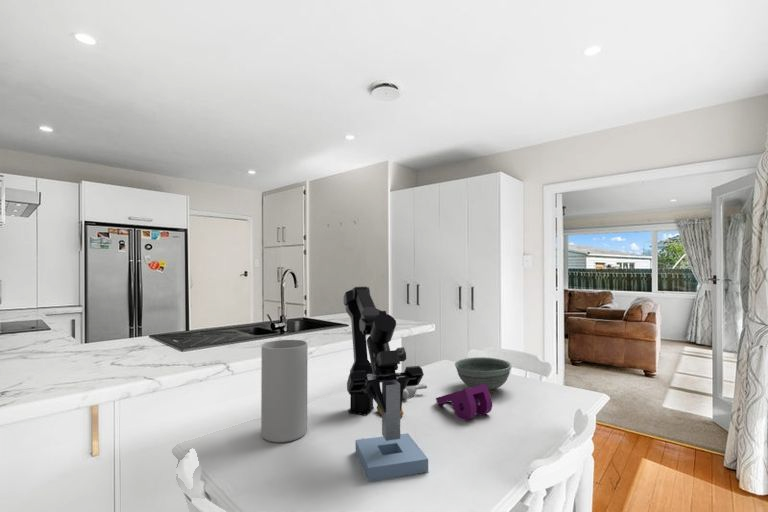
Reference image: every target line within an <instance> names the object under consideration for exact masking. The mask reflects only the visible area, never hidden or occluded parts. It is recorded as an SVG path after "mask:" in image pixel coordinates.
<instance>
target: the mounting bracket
mask: <svg viewBox="0 0 768 512" xmlns="http://www.w3.org/2000/svg"><path fill="white" fill-rule="evenodd" d="M491 396H492V395H491V392H490V393H489V390H488V387H487V384H483V385H479V386H475V387H469V388H464V389H461V390H458V391H454V392H451V393H448V394H445V395H440V396H438V397H436V398H435V400H436V403H437V405H441V403H442V404H444V403H448V402H450V403H451V405H452V408H453V412H454V413H455V415H456V417H457V418H459V419H461V420H463V421H468V420H470V419H473V418H475V417H476V415H480V416H484V415H487V414H489V413H490V412H491V411H492V409H493V400H492V397H491Z"/></svg>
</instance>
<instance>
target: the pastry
mask: <svg viewBox="0 0 768 512" xmlns="http://www.w3.org/2000/svg"><path fill="white" fill-rule="evenodd" d="M376 410H377V413H378V414H380V415H381V416H382V410H381V409H380V407H379V406H378V404H377V406H376ZM403 416H404V411H403V408H402V409H401V411H400V418H403Z"/></svg>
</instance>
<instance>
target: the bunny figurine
mask: <svg viewBox="0 0 768 512" xmlns="http://www.w3.org/2000/svg"><path fill="white" fill-rule="evenodd" d="M427 388H428V386H427V383H419V385H417V386H408V387H407V386H406V388H405V389H404V390H403V398H402V400H403V399H405V400H407V399H411V398H413V397H414V396H415V395H416V393H417V390H425V389H427ZM410 397H411V398H410Z"/></svg>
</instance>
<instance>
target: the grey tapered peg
mask: <svg viewBox="0 0 768 512" xmlns="http://www.w3.org/2000/svg"><path fill="white" fill-rule="evenodd" d="M381 392H382V396H383V399H384V403H385V408H386V412H385V413H383V411H382V415H381V436H382V437H384V438H385V440H386V441H389V440H396V439H400V434H401V417H400V383H399V382H398V381H396V380H387V381H382V382H381Z"/></svg>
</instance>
